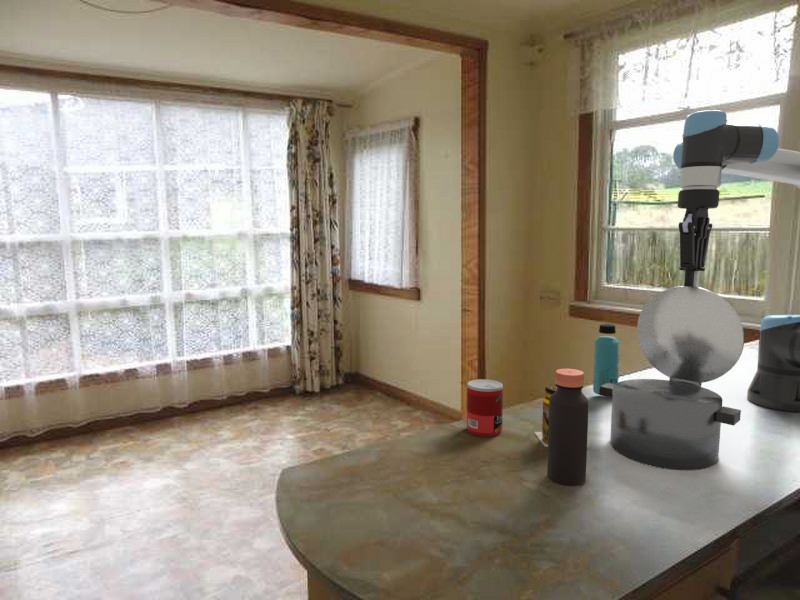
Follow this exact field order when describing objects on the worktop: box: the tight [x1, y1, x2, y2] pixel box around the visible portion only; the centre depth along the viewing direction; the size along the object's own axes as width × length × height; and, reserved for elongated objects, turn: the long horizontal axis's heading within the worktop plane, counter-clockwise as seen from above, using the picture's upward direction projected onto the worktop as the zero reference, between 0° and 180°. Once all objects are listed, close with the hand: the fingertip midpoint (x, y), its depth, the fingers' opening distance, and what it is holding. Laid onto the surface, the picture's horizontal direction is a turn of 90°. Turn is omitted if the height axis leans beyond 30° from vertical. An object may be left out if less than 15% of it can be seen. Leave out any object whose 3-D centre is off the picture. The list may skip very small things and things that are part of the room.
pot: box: [598, 378, 742, 471], centre depth 111 cm, size 22×26×12 cm
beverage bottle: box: [592, 323, 621, 395], centre depth 143 cm, size 6×7×20 cm
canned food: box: [466, 378, 504, 438], centre depth 121 cm, size 8×8×11 cm
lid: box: [636, 285, 745, 387], centre depth 116 cm, size 22×21×3 cm
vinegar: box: [546, 368, 590, 487], centre depth 97 cm, size 7×7×20 cm
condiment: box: [533, 383, 557, 448], centre depth 116 cm, size 7×8×12 cm
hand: (689, 301), depth 115 cm, fingers closed
